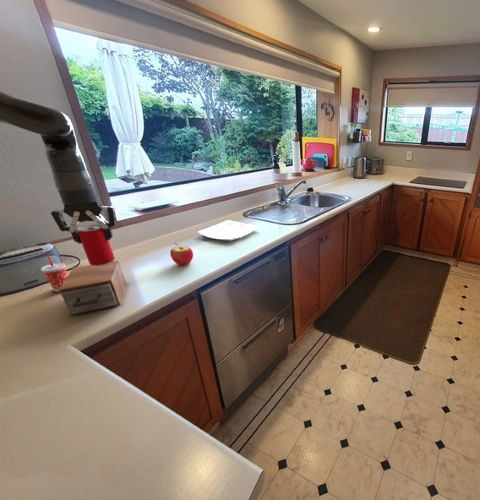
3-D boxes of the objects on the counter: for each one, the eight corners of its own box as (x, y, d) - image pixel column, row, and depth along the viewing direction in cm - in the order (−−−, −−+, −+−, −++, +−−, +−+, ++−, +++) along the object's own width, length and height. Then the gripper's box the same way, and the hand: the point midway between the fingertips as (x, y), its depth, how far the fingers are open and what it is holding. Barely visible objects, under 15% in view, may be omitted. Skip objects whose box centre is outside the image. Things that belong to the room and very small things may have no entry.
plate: (228, 223, 170) (227, 219, 169) (261, 229, 163) (261, 225, 161) (194, 236, 149) (193, 232, 148) (231, 245, 142) (230, 240, 141)
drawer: (114, 311, 90) (106, 291, 87) (67, 322, 85) (57, 301, 82) (122, 284, 105) (116, 265, 101) (82, 291, 99) (74, 272, 96)
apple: (176, 259, 125) (171, 239, 121) (197, 258, 127) (192, 238, 123) (170, 268, 118) (164, 247, 114) (192, 267, 120) (187, 245, 116)
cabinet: (120, 304, 95) (111, 280, 91) (71, 315, 89) (59, 289, 85) (126, 282, 107) (118, 260, 103) (83, 290, 101) (73, 267, 97)
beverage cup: (55, 285, 104) (39, 251, 98) (76, 282, 106) (62, 249, 100) (47, 294, 99) (30, 258, 93) (70, 290, 101) (54, 256, 95)
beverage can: (111, 256, 93) (100, 222, 88) (118, 262, 90) (106, 227, 85) (87, 263, 88) (73, 227, 84) (93, 269, 85) (79, 232, 80)
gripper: (110, 182, 85) (125, 233, 92) (45, 185, 79) (67, 240, 86) (105, 187, 79) (122, 241, 86) (34, 191, 73) (59, 249, 80)
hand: (95, 240), depth 86 cm, fingers closed on beverage can, 6 cm apart
